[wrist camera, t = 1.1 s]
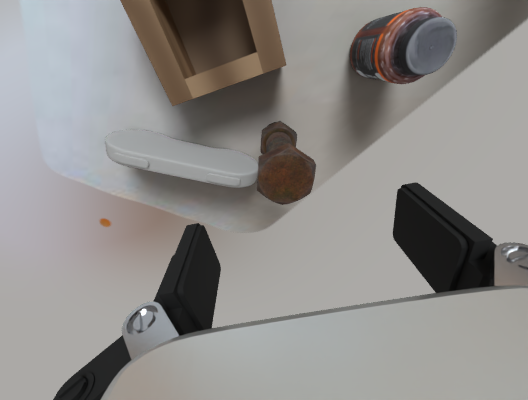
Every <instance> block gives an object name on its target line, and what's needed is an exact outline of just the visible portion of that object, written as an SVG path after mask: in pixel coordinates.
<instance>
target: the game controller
mask: <svg viewBox="0 0 528 400" xmlns="http://www.w3.org/2000/svg"><path fill="white" fill-rule="evenodd" d="M105 144H106V152H107V156H108V157H109V158H110V159H111V160H112V161H114V162H116V163H118V164H121V165H124V166H128V167H133V168H137V169H142V170H147V171H152V172H157V173H161V174H166V175H171V176H176V177H181V178H186V179H191V180H196V181H200V182H205V183H210V184H215V185H220V186H226V187H233V188H241V187H247V186H250V185H252V184H253V183H255V181H256V179H257V176H258V162H257V161H256V160H255V159H254V158H252V157H251V156H249V155H247V154H245V153H242V152H239V151H236V150H231V149H224V148H212V147H207V146H203V145H199V144H194V143H190V142H185V141H181V140H177V139H172V138H170V137H168V136H165V135H163V134H160V133H157V132H152V131H147V130H135V129H129V130H119V131H115V132H112V133H110V134H108V135H107V136H106V138H105Z"/></svg>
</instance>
